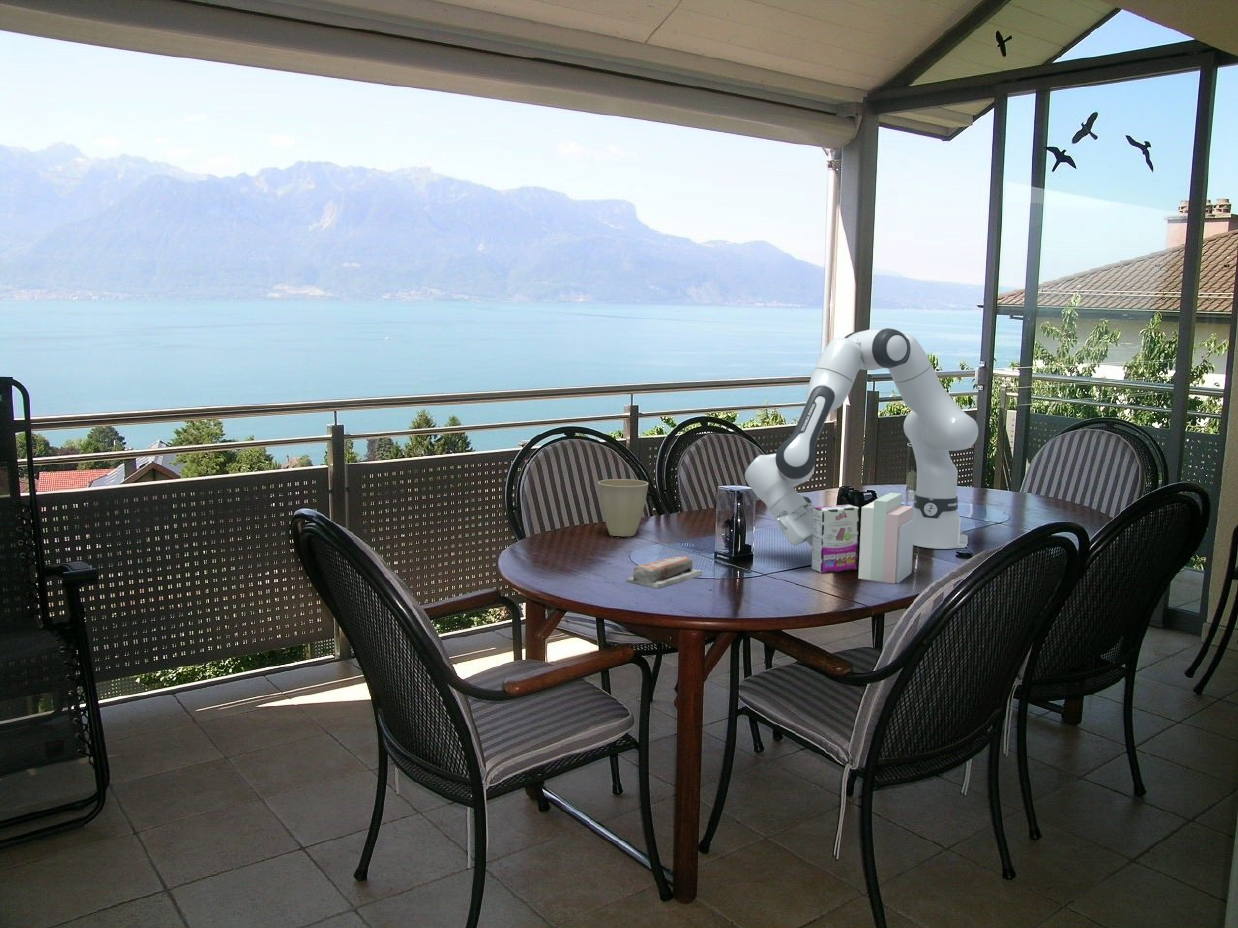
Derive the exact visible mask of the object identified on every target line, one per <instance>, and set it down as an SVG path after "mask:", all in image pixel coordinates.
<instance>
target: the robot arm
mask: <svg viewBox="0 0 1238 928" xmlns="http://www.w3.org/2000/svg"><path fill="white" fill-rule="evenodd" d="M881 369H888V372H889V374H890V376H891V378H892V380H893V383H894V384H895V386H896V388H897V391H898V392H899V395H900V397H901V399H902V401H903V403H904V404H905V405H906V406H907V407H908V408H909V409H910V410H912V411H911V412H909V413H908V414H907V415H906V417H905V419H904V421H903V432H904V434H905V436H906V438H907V439H908V440H909V443H910V444H911V447H912V450H913V451H912V452H913V455H914V460H915V463H916V464H915V465H916V485H915V486H916V489H915V490H916V492H915V494H914V498H913V519H914V535H913V546H916V547H921V548H927V549H938V550H939V549H940V550H946V549H947V550H948V549H949V550H951V549H966V548H965V547H967V548H968V546H967V544H968V543H969V542H968V540H969V538H968V537H969V536H968V535H967V534H964V530H963V529H961V525H962V518H961V516H960V514H959V512H958V509H959V506H958V505H959V499H958V495H957V490H958V476H959V475H958V474H959V473H958V468H957V466H956V465H955V464H954V462H953V461H952V458H951V455H950V452H951V451H953V452H954V451H955V452H956V451H963V450H967V449H970V448H971V447H973V445H974V444H975V443H976V441H977V439H978V436H979V426H978V424H977V422H976V420H975V419H974V418H973V417H971V416H970V415H969V414H967V413H966V412H965V411H964V410H963V409H962V408H960V406H959V405H958V404H957V403H956V402H955V400H954V399H953V397H951V396H950V394H949V393H948V391H946V389H945V388H944V386H943V385H942V383H941V381H940V379H939V376H938V375H937V373H936V371H935V369H934V367H933V365H932V362H931V360H930V359H929V356H928V355H927V353H926V352H925V350H924V348H923V347H922V345H921V344H920V342H919V341H918V340H917V339H916V337H915V336H913V335H911V334H909V333H908V334H907V333H903V332H902V331H900V330H897V329H894V328H870V329H867V330H861V331H854V332H851V333H849V334H847V335H845V336H844V337H837V338H833V339H832V340H831V341H830V342H829V343H828V344H827V346H826V347H825V348H824V350H823V352H822V353H821V354H820V357H819V358H818V361H817V362H816V364H815V367H814V369H813V371H812V374H811V376H810V377H811V378H810V380H809V383H808V385H807V386H808V388H807V392H806V401H805V405H804V408H803V410H802V413H801V415H800V416H799V419H798V421H797V424H796V425H795V429H794V431H793V432H792V434H790V436H789V437H788V438H787V439H785V440H784V442H782V443H781V445H780V446H779V447H778V449H777V451H776V452H775V453H771V454H759V455H757V456H756V457H755V458H753V459H752V460H751V461H750V463H749V464H748V466H747V467H746V468H745V472H744V478H745V481H746V482H747V485H748V486H749V487H750V489H751V490H752V492H753V493H754V494H755V496H757V498H758V499H759V501H760V500H761V501H762V502H763V503H764V504H765V505H766V507H767V510H768V511H769V513H771V515H772V516H773V517H774V519H776V521H777V522H778V524H777V525H778V528H779V530H780V531H781V533H782V534H783V535H784V537H785V538H786V539H787V541H788V542H789V543H790V545H792V546H793V547H797V546H799V545H801V544H803V543H805V542H806V543H808V545H809V546H811V547H812V536H813V508H814V507H815V505H813V503H814V502H813V500H812V499H811V498H810V497H809V496H805V495H802V494H801V493H799V492H798V491H797V490H796V489H795V488H796V487H798V486H800V485H801V484H804V483H807V481H809V480H810V479H811V478H812V476H813V474H814V472H815V463H816V458H817V457H816V444H817V441H818V439H819V436H820V434H821V432H822V430H823V428H824V425H825V423H826V420H827V418H828V417H829V415H830V414H831V413H832V412H833V411H834V410H837V409H839V408H840V407H842V405H843V403H844V402H845V401H846V399H847V397H848V396H849V394H850V392H851V390H852V388H853V385H854V383H855V380H856V378H857V374H858V373H859V371H860V370H861V371H862V370H863V371H877V370H881Z"/></svg>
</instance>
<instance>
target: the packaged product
mask: <svg viewBox="0 0 1238 928" xmlns="http://www.w3.org/2000/svg"><path fill="white" fill-rule="evenodd" d="M693 564H694V563H693V559H691V558H689V556H673V557H667V558H664V559H660V560H657V561H653V562H648V563H643V564H640V565H638V566H634V568H633V574H632V577H628V578H626V579H625V580H626V582H627V583H630V582H631V584H635V585H639V586H643V587H648V588H653V589H661V588H664V587H668V586H671V585H674V584H678V583H681V582H685V581H688V580H691V579H694V578H697V577H700V576H702V573H703V570H701V569H696V568H695V569H693Z"/></svg>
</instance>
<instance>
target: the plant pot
mask: <svg viewBox="0 0 1238 928" xmlns="http://www.w3.org/2000/svg"><path fill="white" fill-rule="evenodd" d="M597 484H598V492H599V501H600V505H601V509H602V510H601V511H602V513H603V519H604V522H605V524H606V528H607V531H608V534H609V536H611V535H613V536H632V535H634V534H635V535H636V533H637V530H638V528H639V525H640V522H641V519H642V516H643V512H644V509H645V505H646V499H647V493H648V488H649V482H648V481H645V480H639V479H632V478H631V479H630V478H629V479H625V478H621V479H620V478H614V479H613V478H610V479H603V480H599V481H598V482H597ZM635 535H634V536H635ZM613 536H612V537H613Z"/></svg>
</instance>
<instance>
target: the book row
mask: <svg viewBox="0 0 1238 928" xmlns="http://www.w3.org/2000/svg"><path fill="white" fill-rule="evenodd" d="M902 501H903V493H897V492H888V493H887V494H885V495H882V496H880V497H877V498H876V499H875V500H873V501H872V502H869V503H868V504H865V505H864V506H861V512H860V513H861V514H860V515H861V516H860V536H859V553H858V554H859V556H858V557H859V559H858V560H859V561H858V576H857V577H858V579H859V580H860V579H861V580H864V581H865V580H866V581H873V582H880V583H887V584H893V585H895V584H900V582H902V581H904V580H905V579H906V578H907V577H908V576H910V575H911V574H912V571H913V570H912V567H913V552H914V551H913V550H914V545H913V535H914V519H913V509H914V505H913V506H912V505H902V504H903V503H902Z"/></svg>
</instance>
